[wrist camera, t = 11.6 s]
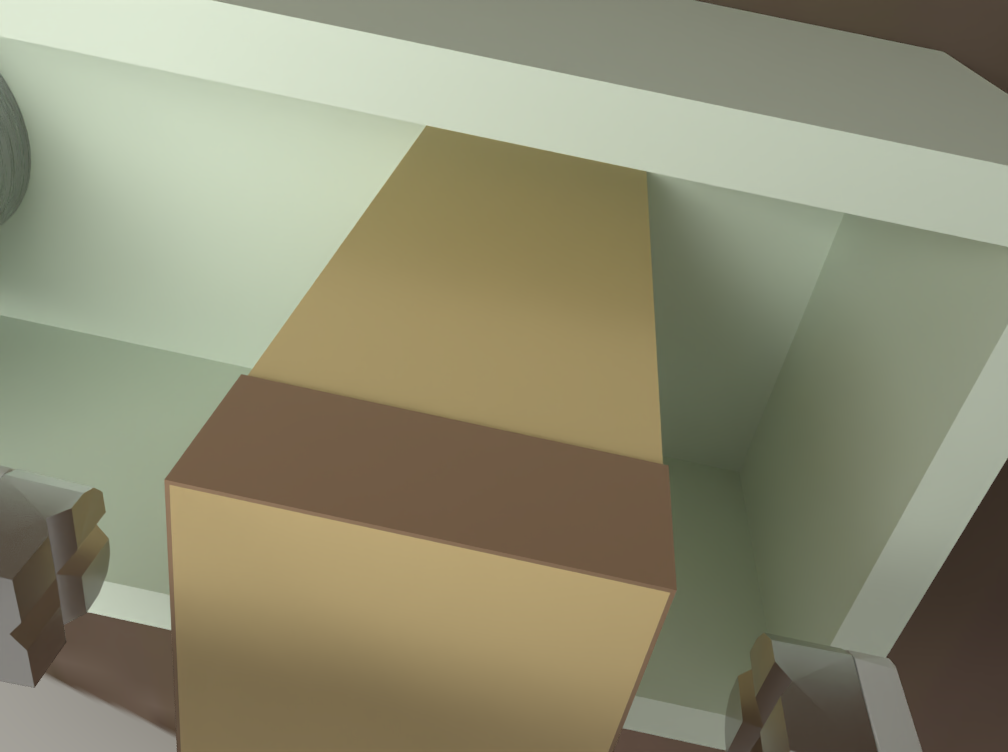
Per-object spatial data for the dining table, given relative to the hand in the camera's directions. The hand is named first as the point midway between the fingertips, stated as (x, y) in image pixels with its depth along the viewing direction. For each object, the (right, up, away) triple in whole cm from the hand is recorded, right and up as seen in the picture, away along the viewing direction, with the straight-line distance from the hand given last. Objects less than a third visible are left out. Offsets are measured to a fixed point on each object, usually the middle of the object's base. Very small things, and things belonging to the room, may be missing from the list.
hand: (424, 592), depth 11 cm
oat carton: (+1, +6, +10) cm, 12 cm away
